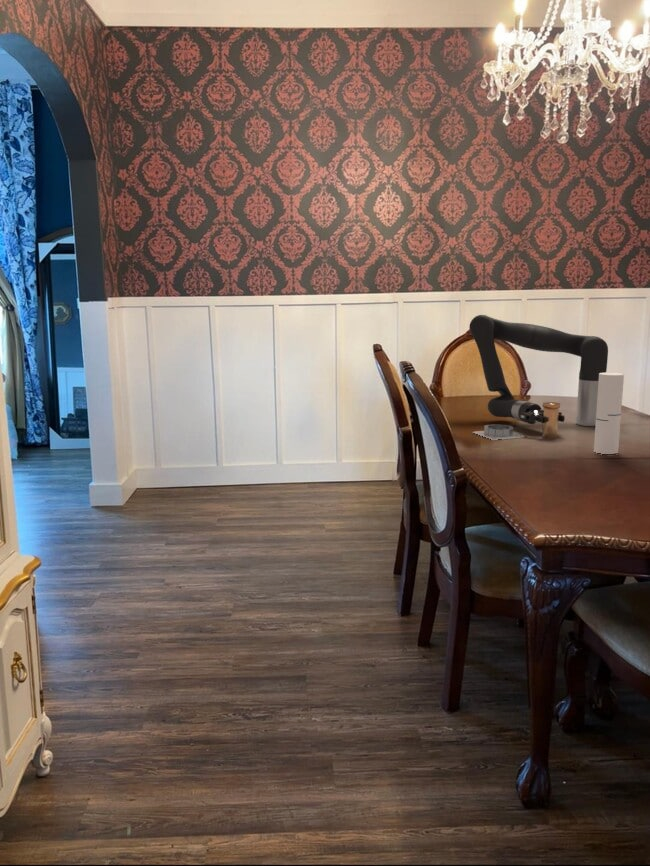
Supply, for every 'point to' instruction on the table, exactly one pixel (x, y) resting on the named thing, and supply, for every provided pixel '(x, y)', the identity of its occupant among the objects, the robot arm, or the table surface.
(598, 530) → the table surface
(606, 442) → the cylindrical container
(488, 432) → the duct collar
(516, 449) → the table surface
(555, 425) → the copper pipe
